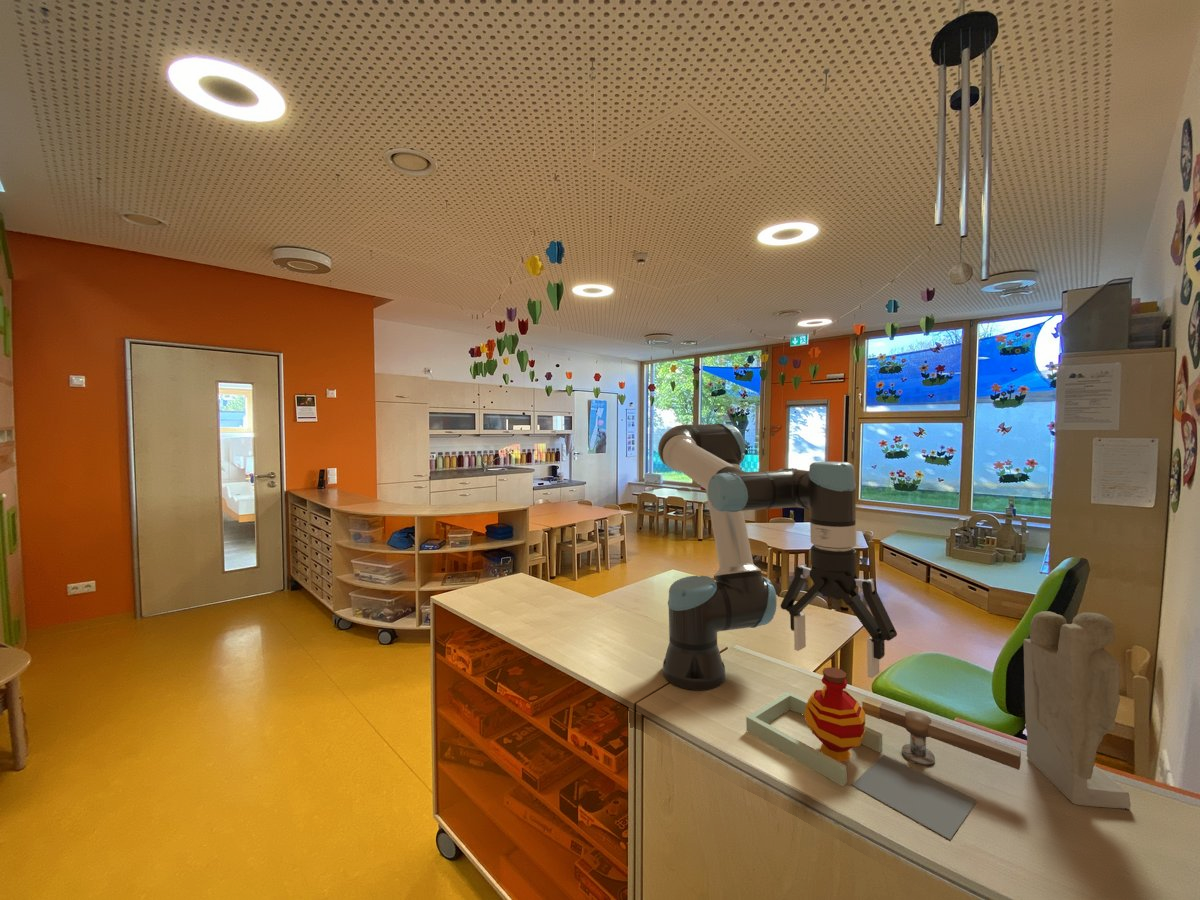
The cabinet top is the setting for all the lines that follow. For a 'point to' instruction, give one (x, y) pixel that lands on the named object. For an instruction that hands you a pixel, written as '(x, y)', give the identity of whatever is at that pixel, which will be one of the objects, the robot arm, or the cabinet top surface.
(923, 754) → the metal pivot base
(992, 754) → the turn bar
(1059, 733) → the sculpture
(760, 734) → the channel
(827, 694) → the potion bottle
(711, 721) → the cabinet top surface
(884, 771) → the mat
